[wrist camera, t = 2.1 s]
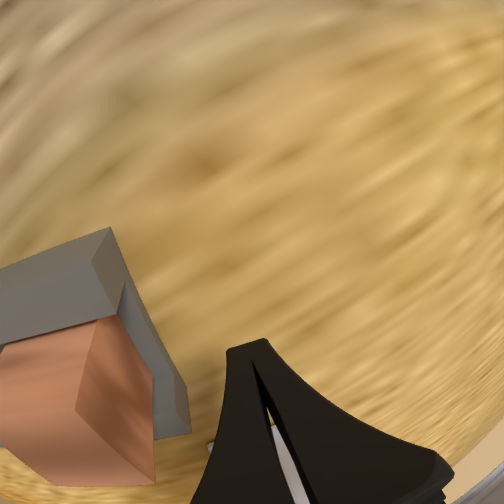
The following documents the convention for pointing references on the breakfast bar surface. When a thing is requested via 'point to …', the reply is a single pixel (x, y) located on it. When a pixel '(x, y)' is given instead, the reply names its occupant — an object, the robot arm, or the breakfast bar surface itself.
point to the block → (79, 406)
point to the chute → (91, 312)
